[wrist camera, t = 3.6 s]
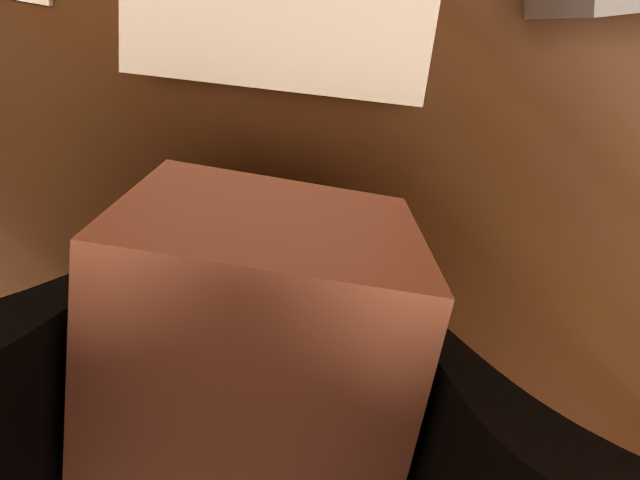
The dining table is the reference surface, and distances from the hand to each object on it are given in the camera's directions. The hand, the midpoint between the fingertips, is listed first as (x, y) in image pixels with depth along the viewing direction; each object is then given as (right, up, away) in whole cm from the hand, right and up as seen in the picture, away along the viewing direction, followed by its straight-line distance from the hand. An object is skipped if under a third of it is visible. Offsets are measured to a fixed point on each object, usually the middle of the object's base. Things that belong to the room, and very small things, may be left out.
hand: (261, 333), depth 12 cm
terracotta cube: (0, +1, +2) cm, 2 cm away
